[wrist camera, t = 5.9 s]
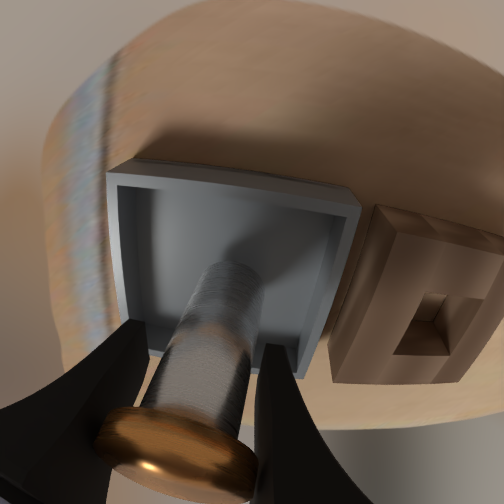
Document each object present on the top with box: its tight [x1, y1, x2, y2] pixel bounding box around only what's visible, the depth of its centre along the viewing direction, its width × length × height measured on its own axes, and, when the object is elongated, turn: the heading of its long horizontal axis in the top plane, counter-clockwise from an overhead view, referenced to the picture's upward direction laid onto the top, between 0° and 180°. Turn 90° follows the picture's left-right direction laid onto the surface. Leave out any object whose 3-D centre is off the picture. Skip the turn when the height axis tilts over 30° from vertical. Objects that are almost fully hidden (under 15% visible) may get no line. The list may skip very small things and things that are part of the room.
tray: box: [106, 158, 362, 379], centre depth 15 cm, size 10×10×2 cm
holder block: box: [327, 204, 504, 385], centre depth 14 cm, size 9×9×3 cm
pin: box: [93, 261, 265, 504], centre depth 10 cm, size 4×4×9 cm
